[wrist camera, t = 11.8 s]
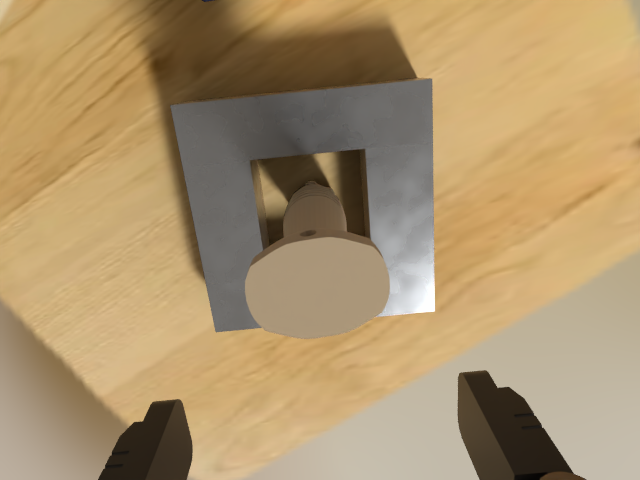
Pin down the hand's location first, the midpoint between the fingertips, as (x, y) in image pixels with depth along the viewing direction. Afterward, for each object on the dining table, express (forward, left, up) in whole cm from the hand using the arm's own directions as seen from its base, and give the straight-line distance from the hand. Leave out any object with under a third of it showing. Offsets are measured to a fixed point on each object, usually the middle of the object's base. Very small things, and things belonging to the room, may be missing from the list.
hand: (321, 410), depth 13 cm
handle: (0, 0, -23) cm, 23 cm away
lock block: (0, 0, -23) cm, 23 cm away
